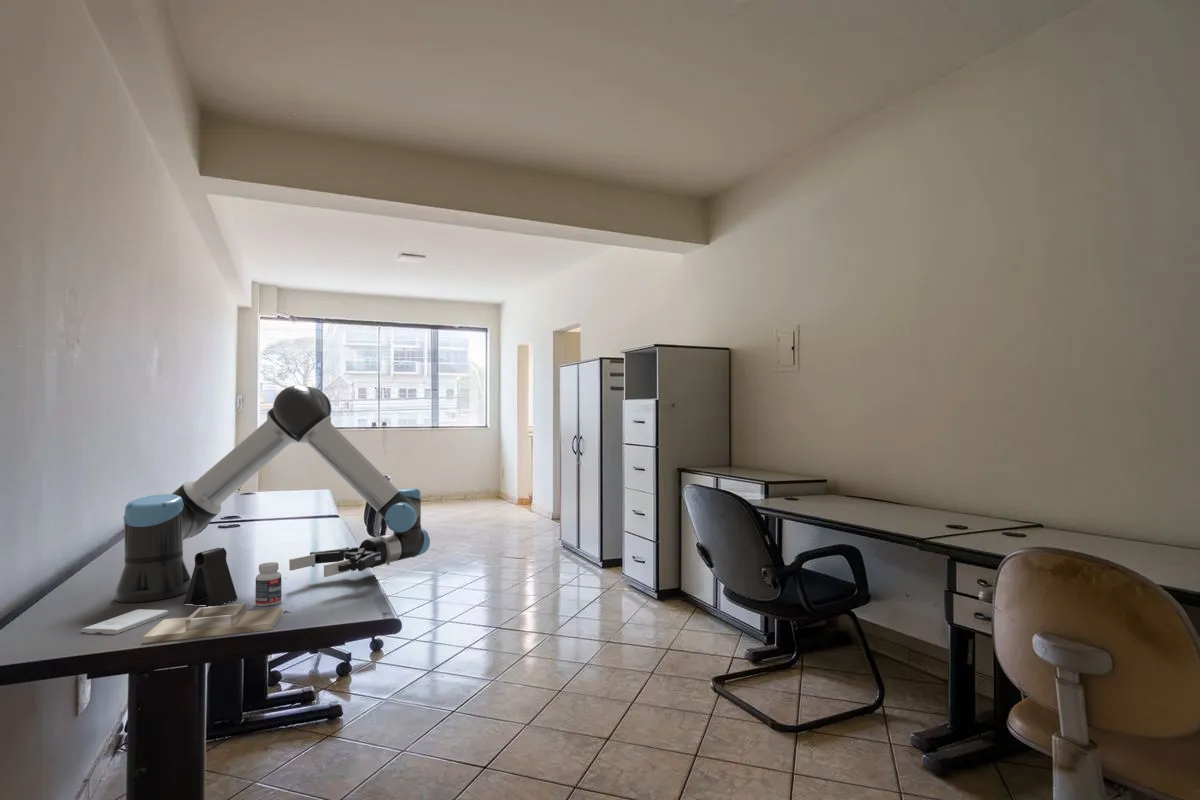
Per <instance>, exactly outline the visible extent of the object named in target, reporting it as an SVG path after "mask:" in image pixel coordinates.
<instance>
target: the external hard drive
mask: <svg viewBox="0 0 1200 800" xmlns="http://www.w3.org/2000/svg"><path fill="white" fill-rule="evenodd" d="M167 614H169V610H167V609H142V608H139V609H135V610H131V611H130V612H125V613H124V614H123V613H122V614H119V615H118V616H114V617H112V618H109V619H106V620H103V621H100V622H97V623H95V624H91V625H89V626H87V627H82V628H81V632H87V633H86V634H95V633H96V634H102V635H118V634H117V633H119V634H121V633H120V632H122V633H124V632H126V630H127V631H129V630H128V629H130V630H132V629H134V627H135V628H138V627H140V626H143V625H145V623H146V624H148V623H150V621H151V622H153V620H154V621H156V620H158V618H159V619H161V618H160V617H162V618H164V617H166V616H165V615H167ZM163 616H164V617H163ZM167 616H168V615H167ZM142 624H143V625H142ZM137 626H138V627H137ZM131 628H132V629H131ZM123 631H124V632H123Z"/></svg>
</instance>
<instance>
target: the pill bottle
mask: <svg viewBox="0 0 1200 800" xmlns="http://www.w3.org/2000/svg"><path fill="white" fill-rule="evenodd" d="M279 568H280V567H279V563H278V562H273V561H271V562H270V561H269V562H265V563H261V564H258V572H259V573H258V574H257V575H256V576H255V598H254V599H255V605H256V606H257V607H270V606H269V605H271V606H274V604H275V605H278V604H280V603H281V602H282V598H283V597H282V573H281V572H279V571H278V570H279ZM277 603H278V604H277Z"/></svg>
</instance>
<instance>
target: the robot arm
mask: <svg viewBox="0 0 1200 800" xmlns="http://www.w3.org/2000/svg"><path fill="white" fill-rule="evenodd" d="M331 404H332V403H331V400H330V399H329V398H328V396H327V395H326V394H325V393H324V392H323V391H322V390H320V389H318V388H316V387H313V386H305V385H298V384H297V385H292V386H287V387H285V388H284V389H283V390H281V391H280V392H278V394H277V395H276V397H275V399H274V402H273V404H272V405H273V406H272V408H270V410H269V411H267V413H266V417H267V418H266V420H265V422H263V423H262V424H261V425H260V426H259V427H258V428H257V429H255V430H254V431H253V432H252V433H250V434H249V435H248V436H247V437H246V438H245V439H243V440H242V441H241V442H240V443H238V444H237V445H236V446H235V447H234V448H233V449H232V450H230V451H229V452H228V453H227V454H226V455H225V456H223V458H221V459H220V460H219V461H217V463H215V464H214V465H213V466H212V467H211V468H209V469H208V470H207V471H206V472H205V473H204V474H203V475H201V476H200V477H199V478H198V479H197V480H196V481H186V482H184V483H182V485H180V486H179V487H178V488H177V489H175V490H174V491H173V493H170V494H169V493H161V494H154V495H153V494H152V495H147V496H144V497H143V496H142V497H139V498H135V499H133V500H131V501H128V502H127V504H126V506H125V509H124V515H123V521H124V526H123V527H124V567H123V570H122V572H121V574H120V578H119V580H118V583H117V585H116V588H115V600H116V602H120V603H128V604H129V603H130V604H131V603H144V602H145V601H146V602H152V601H160V600H165V599H170V598H174V597H178V596H180V595H183V594H187V591H188V588H189V585H190V581H191V578H192V577H191V576H190V574H189V571H188V568H187V566H186V563H185V561H184V540H186V539H191V538H193V537H194V536H197V535H198V534H201V533H202V532H203V531H204V530H206V528H207V527H208V526H209V524H210V523H211V521H212V520H213V519H214V518H215V517H217V515H219V514H220V513H221V512H222V503H224V502H225V500H227V499H228V498H229V497H230V496H231V495H233V494H234V493H235V492H236V491H238V490H239V489H240V487H242V486H243V485H244V484H245V483H246V482H248V481H249V480H250V479H251V478H252V477H253V476H254V475H256V474H257V473H258V472H259V471H260V470H262V469H263V468H264V467H265V466H266V465H267V464H268V463H269V462H271V461H272V460H273V459H274V458H275V457H276V456H278V455H279V454H280V453H281V452H282V451H283V450H285V448H286V447H288V446H289V445H290V444H292V443H294V444H295V443H300V444H303V443H304V444H307V445H309V447H310V448H311V449H313V450H314V451H315V452H316V453H317V454H318V455H319V456H320V457H321V459H323V460H324V461H325V462H326V464H328V466H330V467H331V468H332V469H333V470H334V471H335V472H336V473H337V474H338V475H339V476H340V477H341V478H342V479H343V480H344V481H345V482H346V483H348V485H349V486H350V487H351V488H352V489H353V490H354V491H356V493H357V494H359V495H360V496H361V498H363V500H364V501H366V503H367V504H369V505H370V507H372V508H373V510H375V511H376V512H377V514H379V516H380V517H382V519H384V521H385V524H386V526H387V528H388V529H390V530H391V531H392V532H393V533H390V534H385V535H380V536H379V535H378V536H376V537H372V538H371V537H370V538H368V539H364V540H363V541H362V542H361V543H360V545H359V546H358V547H357V546H356V547H355V546H354V547H352V548H350V547H344V548H338V549H328V550H319V551H310V552H309V554H308V555H303V556H298V557H293V558H289V561H288V562H289V563H288V565H289V568H288V570H289V571H292V572H293V571H297V570H300V569H304V568H309V567H312V568H315V566H316V565H317V564H324V565H323V577H324V578H328V577H331V576H332V577H333V576H336V575H339V574H343V573H348V572H350V571H352V572H355V571H358V572H362V571H365V570H366V569H369V568H370V569H372V568H375V567H379V566H382V565H386V566H390V564H391V563H394V562H397V561H398V562H399V561H400V560H401V561H402V560H407V559H410V558H416V557H417V556H421V555H423V554H425V553H426V552H427V551H428V550H429V548H430V545H431V538H430V536H429V532H428V531H427V530H426V529H424V528H422V524H421V523H422V522H421V521H422V520H421V519H422V518H421V517H422V516H421V515H422V513H421V512H422V508H421V505H422V498H421V491H420V490H421V489H419V488H417V487H416V488H414V487H408V488H407V487H406V488H397V487H396V486H395V485H394V484H393V483H392V482H390V481H389V480H388V478H386V477H385V476H384V475H383V473H382V472H381V471H379V470H378V469H377V467H376V466H375V465H374V464H373V463H372V462H370V460H368V459H367V457H366V456H365V455H364V454H363V453H362V452H360V450H359V449H357V448H356V447H355V446H354V445H353V443H352V442H351V441H349V439H347V437H345V435H343V434H342V433H341V432H340V431H339V429H337V427H335V426H334V424H333V423H332V415H331V414H332V405H331Z"/></svg>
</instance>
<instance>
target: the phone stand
mask: <svg viewBox="0 0 1200 800" xmlns="http://www.w3.org/2000/svg"><path fill="white" fill-rule="evenodd" d="M227 561H228V560H227V550H226V549H225V548H224V547H216V548H212V549H209V550H204V551H200V552H198V553H196V554H195V556H194V568H193V571H192V575H191V577H190V578H191V581H190V585H189V588H188V591H187V592H186V595H185V597H184V598H185V599H184V602H183V605H184V604H193V605H206V606H219V605H220V606H222V605H221V604H223V605H225V604H224V603H226V604H228V603H227V602H229V601H231V602H233V601H232V600H234V601H236V600H235V599H237V600H238V595H237V592H236V588H235V585H234V582H233V578H232V575H231V572H230V569H229V568H230V567H229V565H228V562H227ZM229 603H230V602H229Z"/></svg>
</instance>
